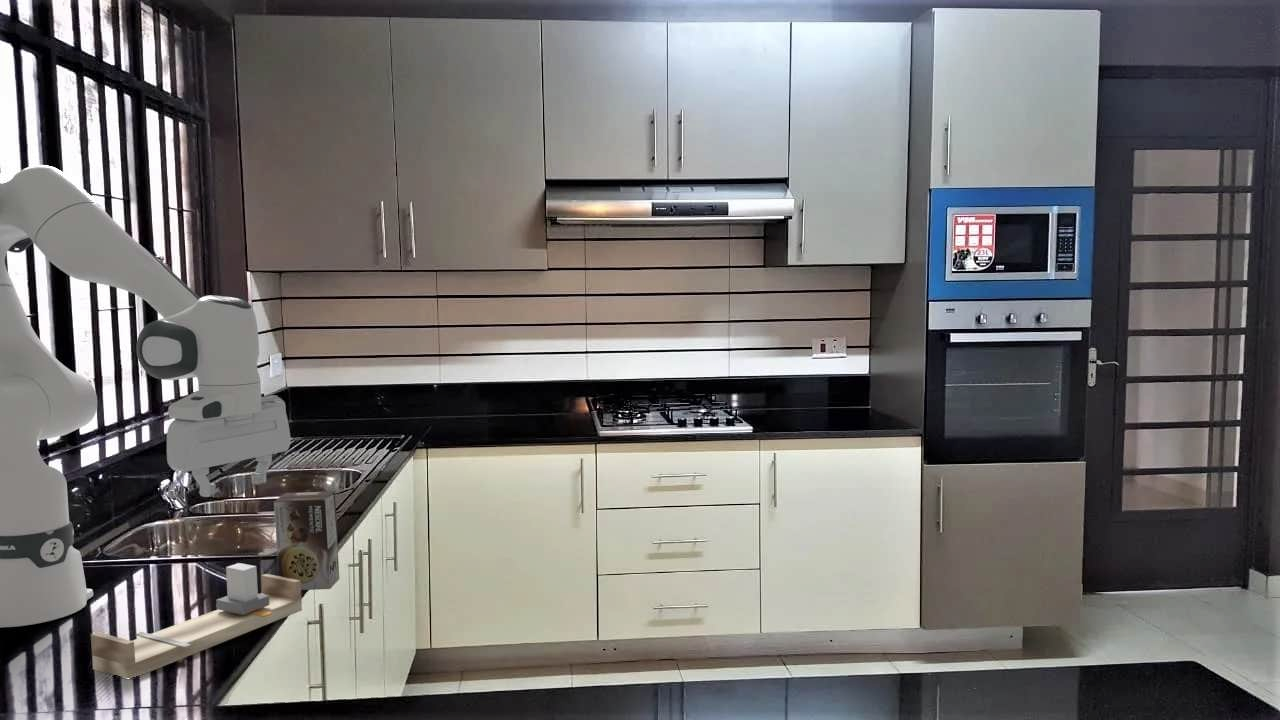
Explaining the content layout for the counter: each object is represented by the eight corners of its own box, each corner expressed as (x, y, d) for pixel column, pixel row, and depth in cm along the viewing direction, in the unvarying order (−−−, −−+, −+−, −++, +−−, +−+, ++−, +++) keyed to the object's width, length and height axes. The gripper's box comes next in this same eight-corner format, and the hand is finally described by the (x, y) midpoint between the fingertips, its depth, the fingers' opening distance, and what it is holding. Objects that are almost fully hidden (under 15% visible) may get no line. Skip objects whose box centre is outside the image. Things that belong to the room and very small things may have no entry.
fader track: (86, 667, 134) (84, 632, 134) (261, 601, 161) (259, 572, 160) (136, 681, 129) (134, 646, 129) (308, 611, 156) (307, 581, 155)
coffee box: (340, 578, 173) (336, 490, 171) (330, 590, 166) (326, 498, 165) (289, 579, 172) (285, 491, 171) (277, 591, 166) (272, 500, 164)
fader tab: (216, 609, 150) (214, 568, 149) (243, 599, 154) (241, 560, 154) (243, 615, 147) (241, 573, 147) (269, 604, 152) (267, 564, 151)
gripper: (270, 392, 158) (273, 475, 160) (157, 408, 140) (162, 500, 142) (297, 394, 155) (300, 478, 157) (186, 411, 137) (190, 505, 139)
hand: (234, 489), depth 149 cm, fingers open, 8 cm apart
